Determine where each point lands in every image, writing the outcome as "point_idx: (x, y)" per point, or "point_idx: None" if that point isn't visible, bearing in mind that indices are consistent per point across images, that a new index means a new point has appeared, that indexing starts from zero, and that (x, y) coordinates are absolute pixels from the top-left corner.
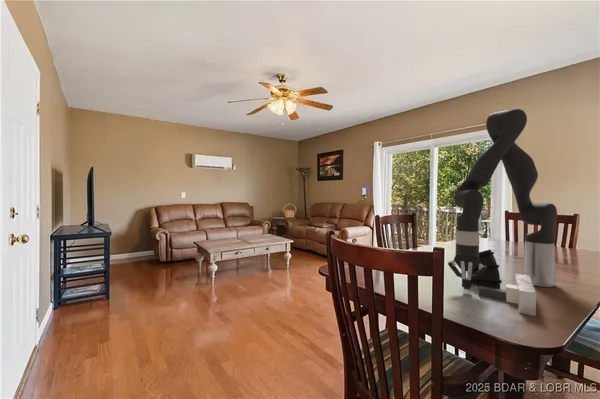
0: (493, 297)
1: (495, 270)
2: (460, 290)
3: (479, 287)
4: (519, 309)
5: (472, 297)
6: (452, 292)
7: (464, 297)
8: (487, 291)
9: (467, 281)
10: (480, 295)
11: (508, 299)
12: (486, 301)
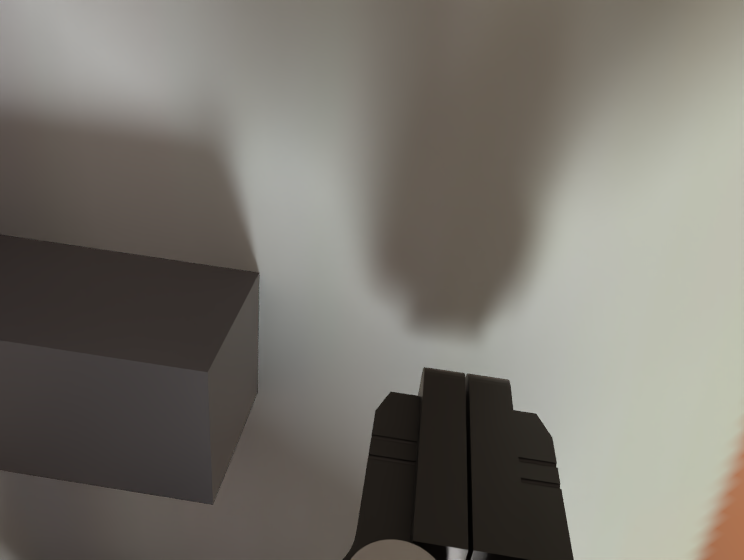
0: (23, 249)
1: None
2: None
3: (200, 404)
4: None
5: (365, 140)
6: (725, 274)
7: (528, 55)
8: (67, 316)
9: (439, 509)
10: (228, 279)
11: None
12: (110, 11)
